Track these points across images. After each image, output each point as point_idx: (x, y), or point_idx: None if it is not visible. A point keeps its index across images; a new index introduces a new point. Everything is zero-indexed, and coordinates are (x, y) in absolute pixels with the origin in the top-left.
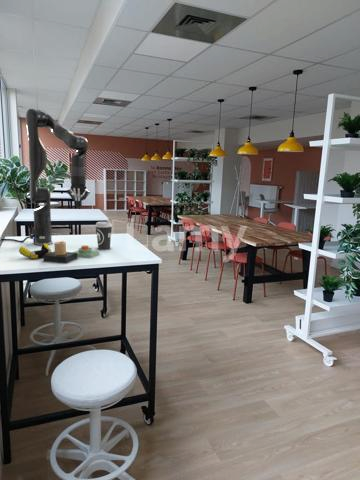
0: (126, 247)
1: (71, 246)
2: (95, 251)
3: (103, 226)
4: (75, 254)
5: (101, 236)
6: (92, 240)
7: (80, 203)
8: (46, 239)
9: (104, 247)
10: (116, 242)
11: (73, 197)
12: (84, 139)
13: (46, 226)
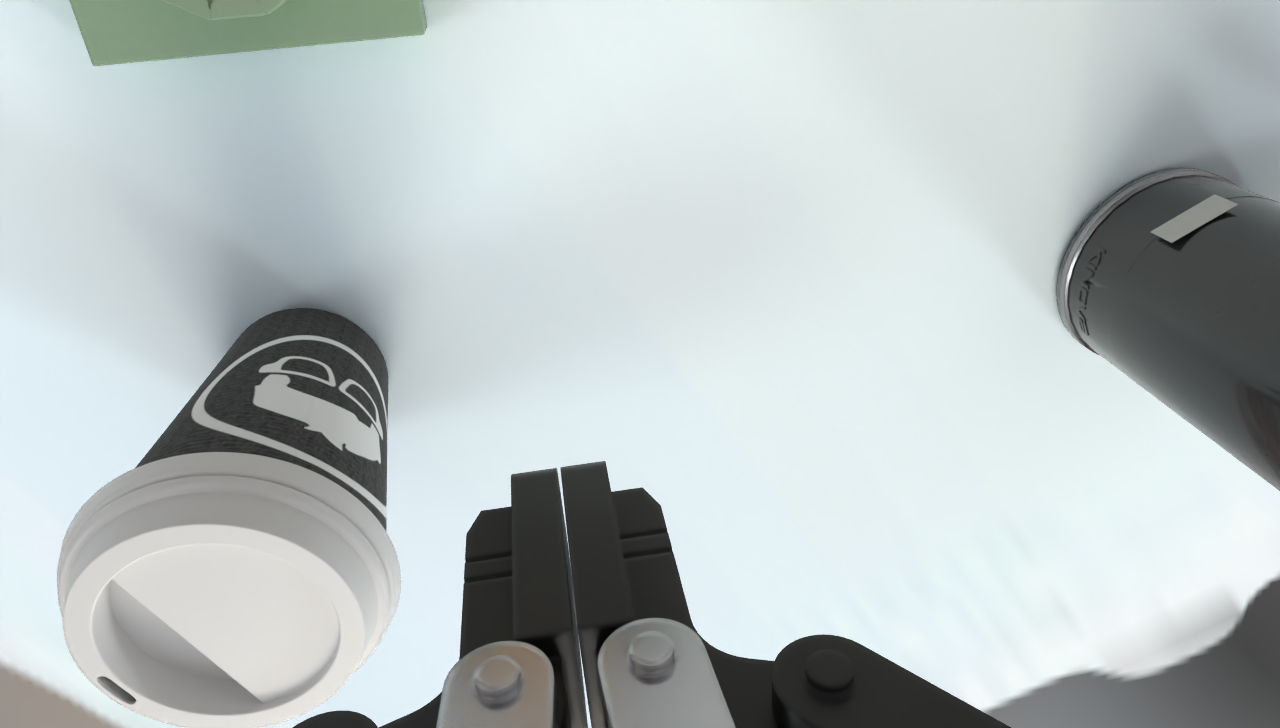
0: None
1: (759, 295)
2: (111, 14)
3: (116, 491)
4: None
5: (228, 389)
6: (719, 638)
7: (465, 610)
8: (1126, 248)
9: (242, 335)
10: (419, 684)
11: (817, 721)
12: None
13: (1259, 335)
